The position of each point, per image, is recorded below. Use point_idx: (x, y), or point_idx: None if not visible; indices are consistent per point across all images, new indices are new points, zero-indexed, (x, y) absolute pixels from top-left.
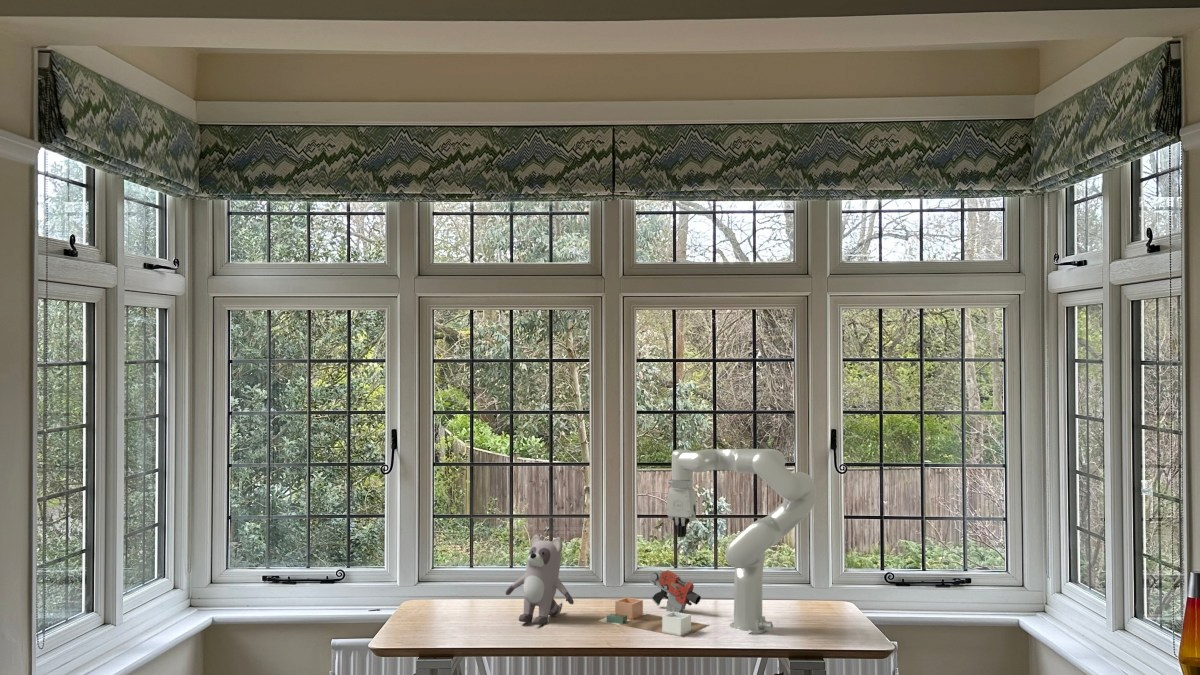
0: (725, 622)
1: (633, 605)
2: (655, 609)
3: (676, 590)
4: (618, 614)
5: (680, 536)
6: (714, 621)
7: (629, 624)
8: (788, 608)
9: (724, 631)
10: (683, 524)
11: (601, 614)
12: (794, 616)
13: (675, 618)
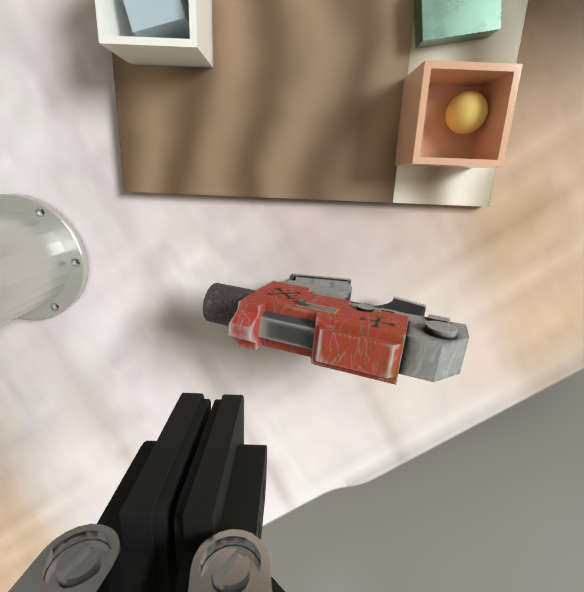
0: (132, 296)
1: (420, 74)
2: None
3: (307, 300)
4: (464, 30)
5: (197, 395)
6: (167, 287)
7: (385, 3)
8: (75, 526)
9: (73, 190)
10: (64, 560)
11: (564, 135)
12: (14, 464)
13: None
